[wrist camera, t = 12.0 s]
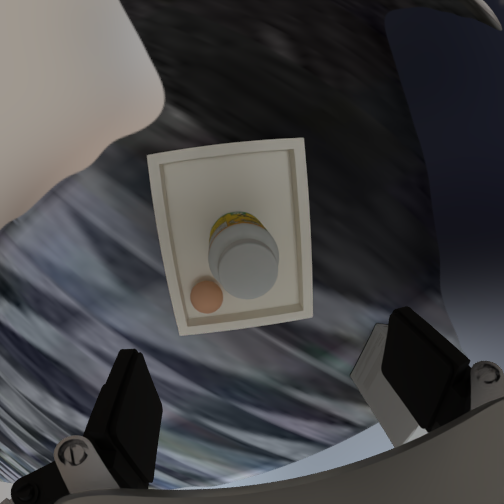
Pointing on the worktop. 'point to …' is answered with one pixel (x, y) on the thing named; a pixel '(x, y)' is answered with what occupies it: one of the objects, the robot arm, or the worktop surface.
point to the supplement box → (383, 392)
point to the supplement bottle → (243, 255)
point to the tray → (229, 200)
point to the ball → (206, 297)
